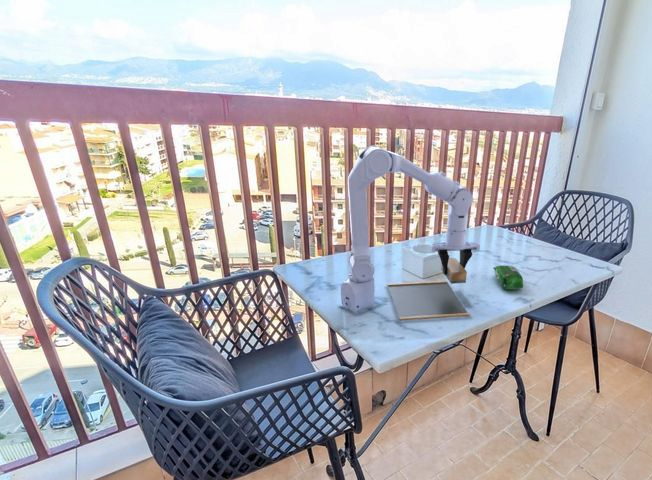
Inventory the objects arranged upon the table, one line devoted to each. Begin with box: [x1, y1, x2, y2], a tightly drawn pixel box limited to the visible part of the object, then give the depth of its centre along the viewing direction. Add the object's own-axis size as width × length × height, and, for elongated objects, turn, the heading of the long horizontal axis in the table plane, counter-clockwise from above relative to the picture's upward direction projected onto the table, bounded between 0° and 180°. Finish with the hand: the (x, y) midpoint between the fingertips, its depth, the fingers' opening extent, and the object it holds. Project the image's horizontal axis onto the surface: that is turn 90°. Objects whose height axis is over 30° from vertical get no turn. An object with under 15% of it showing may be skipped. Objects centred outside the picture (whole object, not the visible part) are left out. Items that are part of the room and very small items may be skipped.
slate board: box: [387, 280, 471, 321], centre depth 122 cm, size 20×25×1 cm
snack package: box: [493, 265, 524, 290], centre depth 134 cm, size 7×16×5 cm, turn 2°
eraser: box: [440, 257, 468, 285], centre depth 120 cm, size 4×12×4 cm, turn 9°
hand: (453, 273), depth 121 cm, fingers closed on eraser, 4 cm apart
